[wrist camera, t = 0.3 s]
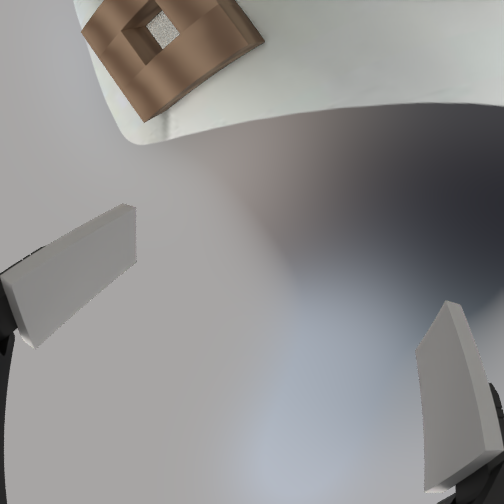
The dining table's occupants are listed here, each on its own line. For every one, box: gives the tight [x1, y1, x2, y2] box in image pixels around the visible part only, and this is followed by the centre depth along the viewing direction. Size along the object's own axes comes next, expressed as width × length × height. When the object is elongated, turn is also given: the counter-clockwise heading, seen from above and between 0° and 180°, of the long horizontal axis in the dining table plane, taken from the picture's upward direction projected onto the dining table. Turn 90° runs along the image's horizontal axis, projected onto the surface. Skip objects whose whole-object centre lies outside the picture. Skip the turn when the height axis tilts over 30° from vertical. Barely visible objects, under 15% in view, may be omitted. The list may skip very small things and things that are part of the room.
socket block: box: [81, 0, 265, 123], centre depth 29 cm, size 18×18×5 cm
